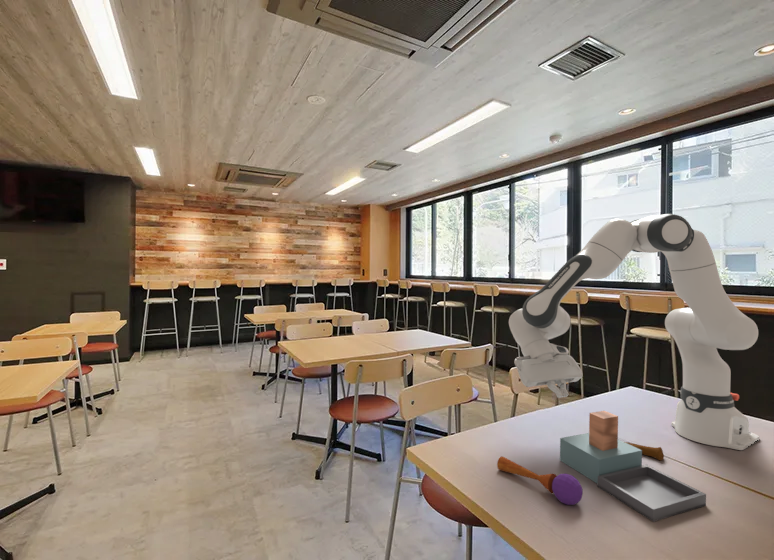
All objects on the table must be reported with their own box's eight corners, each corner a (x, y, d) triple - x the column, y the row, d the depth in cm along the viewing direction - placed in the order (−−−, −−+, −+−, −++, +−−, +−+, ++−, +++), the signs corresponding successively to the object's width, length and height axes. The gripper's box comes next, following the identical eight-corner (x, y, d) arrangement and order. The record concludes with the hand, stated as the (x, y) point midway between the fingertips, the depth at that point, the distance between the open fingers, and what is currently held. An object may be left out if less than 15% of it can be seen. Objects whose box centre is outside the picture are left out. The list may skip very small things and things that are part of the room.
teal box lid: (599, 452, 104) (600, 430, 104) (641, 474, 93) (642, 450, 93) (560, 460, 100) (560, 438, 99) (598, 484, 88) (599, 459, 88)
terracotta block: (603, 440, 98) (604, 410, 98) (617, 447, 94) (618, 416, 94) (589, 443, 96) (589, 412, 96) (602, 450, 92) (603, 418, 92)
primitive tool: (583, 441, 112) (583, 429, 112) (588, 435, 116) (589, 424, 116) (662, 464, 99) (662, 451, 99) (665, 456, 103) (665, 444, 103)
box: (646, 474, 93) (646, 464, 93) (705, 505, 80) (706, 494, 80) (597, 486, 87) (597, 476, 87) (653, 521, 75) (653, 509, 75)
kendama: (508, 449, 98) (587, 477, 82) (507, 474, 97) (587, 506, 81) (494, 452, 94) (574, 481, 78) (493, 477, 93) (573, 512, 77)
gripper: (516, 351, 111) (539, 394, 102) (571, 347, 118) (597, 387, 109) (507, 363, 115) (528, 405, 106) (560, 358, 122) (584, 397, 113)
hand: (563, 396), depth 107 cm, fingers closed
